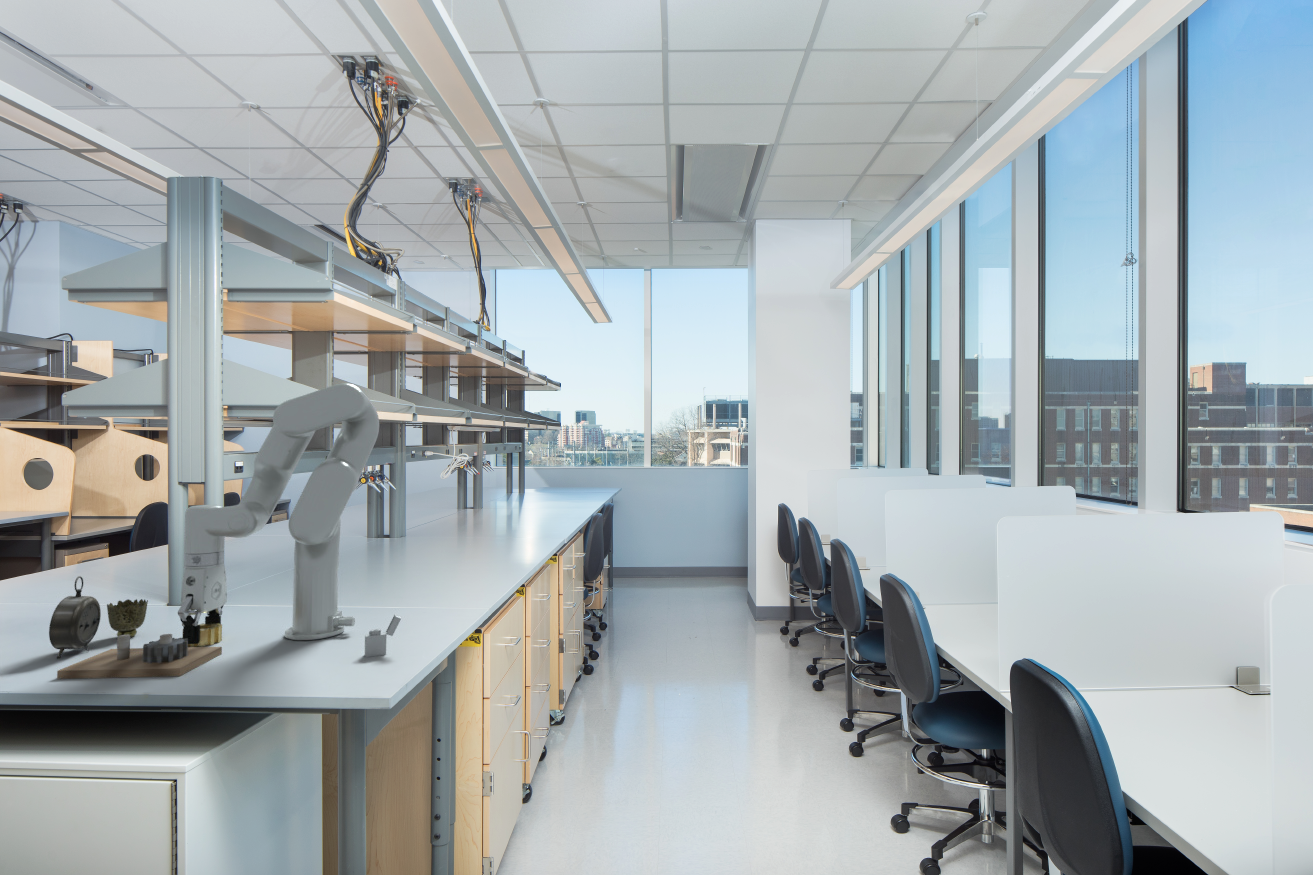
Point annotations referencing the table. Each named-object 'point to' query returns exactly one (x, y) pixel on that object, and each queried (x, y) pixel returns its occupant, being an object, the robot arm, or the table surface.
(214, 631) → the brass gear
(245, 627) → the table surface
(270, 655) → the table surface
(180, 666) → the gear board
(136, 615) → the cup
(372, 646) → the lighter
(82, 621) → the alarm clock
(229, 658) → the table surface
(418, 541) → the table surface
